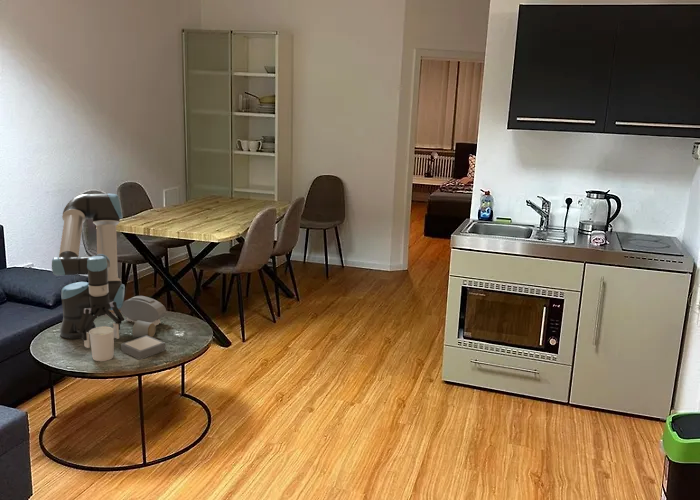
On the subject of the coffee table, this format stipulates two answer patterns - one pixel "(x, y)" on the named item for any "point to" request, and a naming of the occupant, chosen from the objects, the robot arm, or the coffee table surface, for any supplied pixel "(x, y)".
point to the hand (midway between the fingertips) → (102, 342)
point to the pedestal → (143, 347)
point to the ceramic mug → (143, 329)
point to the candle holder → (102, 343)
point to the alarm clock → (143, 309)
